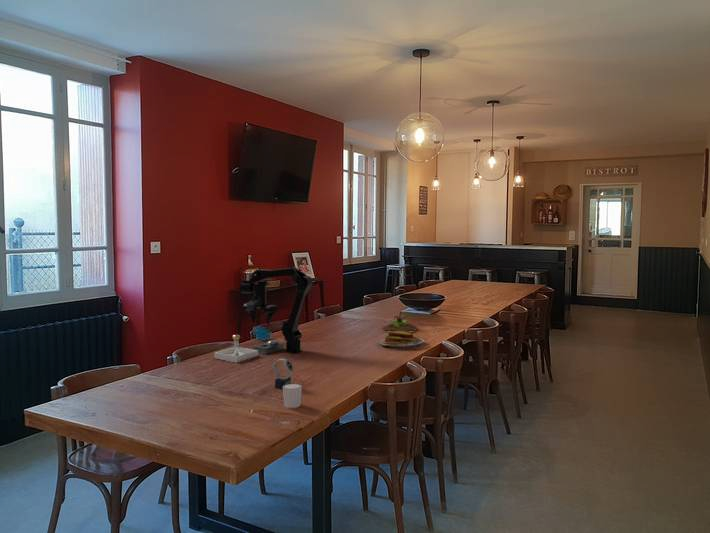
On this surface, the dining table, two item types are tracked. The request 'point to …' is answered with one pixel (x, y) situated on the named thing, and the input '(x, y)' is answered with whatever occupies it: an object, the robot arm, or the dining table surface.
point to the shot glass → (292, 395)
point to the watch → (281, 379)
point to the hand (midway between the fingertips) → (260, 323)
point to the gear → (262, 333)
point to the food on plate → (401, 339)
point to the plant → (399, 325)
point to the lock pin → (236, 344)
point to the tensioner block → (269, 347)
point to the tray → (229, 356)
